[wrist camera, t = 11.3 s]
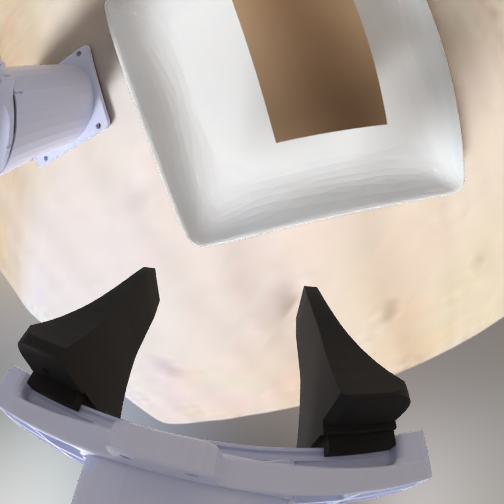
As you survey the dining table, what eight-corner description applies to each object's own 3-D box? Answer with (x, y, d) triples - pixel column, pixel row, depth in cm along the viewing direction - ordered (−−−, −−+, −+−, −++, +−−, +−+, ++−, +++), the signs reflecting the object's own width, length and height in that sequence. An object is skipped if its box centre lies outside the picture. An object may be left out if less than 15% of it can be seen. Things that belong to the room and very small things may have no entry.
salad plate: (118, 6, 13) (96, -3, 10) (378, -54, 8) (392, -71, 5) (201, 233, 23) (190, 255, 20) (445, 178, 18) (467, 192, 15)
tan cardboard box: (275, 128, 15) (276, 143, 10) (238, 10, 11) (220, -31, 6) (349, 115, 14) (387, 124, 9) (313, -4, 10) (331, -47, 5)
